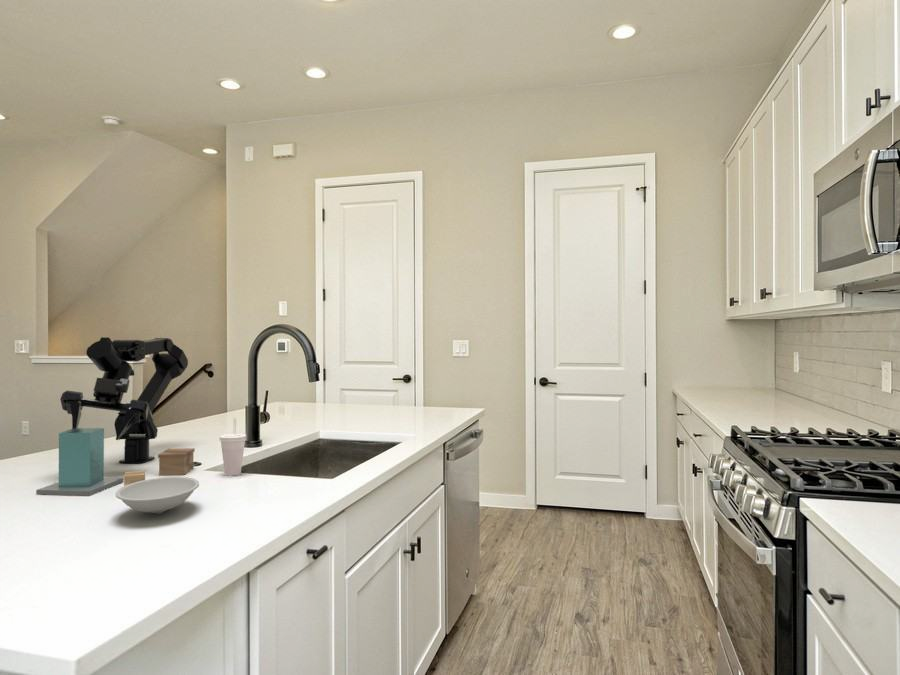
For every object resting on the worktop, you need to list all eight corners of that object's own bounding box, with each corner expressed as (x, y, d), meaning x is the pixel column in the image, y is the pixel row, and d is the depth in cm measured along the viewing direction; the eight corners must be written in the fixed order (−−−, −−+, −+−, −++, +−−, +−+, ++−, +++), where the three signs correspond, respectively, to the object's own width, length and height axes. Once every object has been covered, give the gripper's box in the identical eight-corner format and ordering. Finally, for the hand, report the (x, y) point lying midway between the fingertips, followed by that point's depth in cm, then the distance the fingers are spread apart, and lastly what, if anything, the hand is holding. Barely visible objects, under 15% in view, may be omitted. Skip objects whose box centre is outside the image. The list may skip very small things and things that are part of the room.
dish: (137, 501, 124) (137, 477, 124) (209, 499, 126) (209, 475, 126) (99, 528, 106) (99, 501, 106) (183, 525, 108) (183, 498, 108)
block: (125, 489, 133) (125, 472, 133) (145, 488, 135) (145, 470, 135) (124, 494, 129) (124, 476, 129) (144, 492, 131) (144, 474, 131)
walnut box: (168, 468, 153) (168, 448, 153) (194, 468, 154) (194, 448, 154) (157, 475, 146) (158, 454, 146) (185, 475, 147) (185, 454, 147)
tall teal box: (73, 480, 136) (74, 428, 136) (103, 479, 137) (103, 428, 137) (58, 487, 130) (58, 433, 130) (90, 486, 131) (90, 432, 131)
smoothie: (251, 472, 150) (252, 417, 149) (232, 478, 144) (233, 420, 144) (232, 470, 152) (233, 415, 152) (213, 475, 146) (213, 419, 146)
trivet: (74, 480, 140) (74, 476, 140) (123, 482, 139) (123, 477, 139) (36, 494, 128) (36, 489, 128) (89, 495, 127) (89, 491, 127)
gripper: (69, 357, 141) (46, 415, 132) (154, 371, 148) (137, 426, 138) (74, 381, 150) (52, 437, 140) (154, 393, 156) (138, 447, 146)
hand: (95, 436), depth 141 cm, fingers open, 9 cm apart
